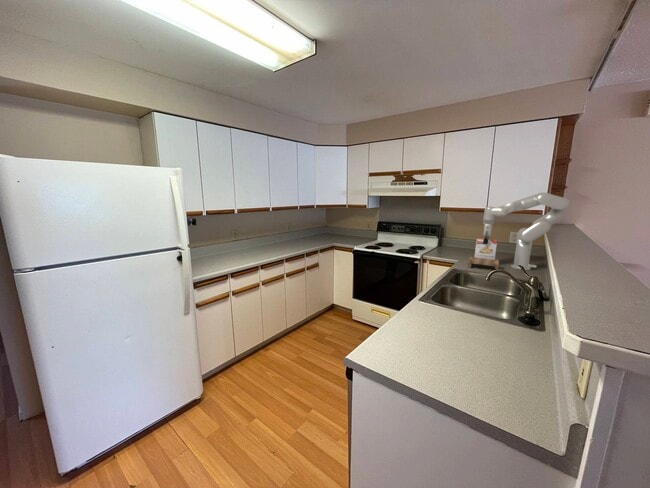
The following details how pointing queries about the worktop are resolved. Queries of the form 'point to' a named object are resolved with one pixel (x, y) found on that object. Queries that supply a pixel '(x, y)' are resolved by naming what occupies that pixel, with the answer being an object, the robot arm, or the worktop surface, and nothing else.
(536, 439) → the worktop surface
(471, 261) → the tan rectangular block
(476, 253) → the cracker box
